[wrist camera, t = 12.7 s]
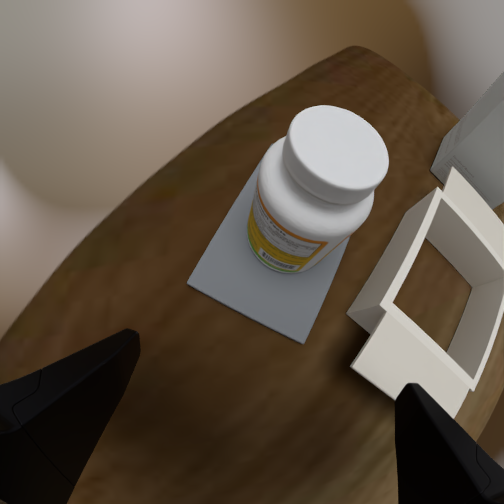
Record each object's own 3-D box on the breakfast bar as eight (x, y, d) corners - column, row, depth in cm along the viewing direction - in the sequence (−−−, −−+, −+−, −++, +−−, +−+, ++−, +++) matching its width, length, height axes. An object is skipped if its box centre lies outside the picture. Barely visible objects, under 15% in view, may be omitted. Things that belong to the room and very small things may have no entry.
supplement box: (475, 221, 22) (564, 163, 10) (427, 170, 23) (508, 88, 11) (485, 180, 24) (554, 124, 12) (443, 136, 25) (505, 65, 13)
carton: (410, 426, 16) (448, 438, 12) (315, 356, 17) (343, 360, 13) (485, 258, 21) (517, 243, 17) (418, 186, 22) (447, 160, 18)
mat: (301, 343, 17) (303, 343, 17) (187, 284, 18) (186, 282, 17) (362, 196, 21) (365, 192, 21) (270, 148, 22) (272, 143, 21)
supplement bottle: (309, 190, 20) (365, 91, 11) (337, 261, 19) (426, 194, 9) (235, 207, 19) (250, 97, 10) (260, 285, 18) (303, 224, 8)
